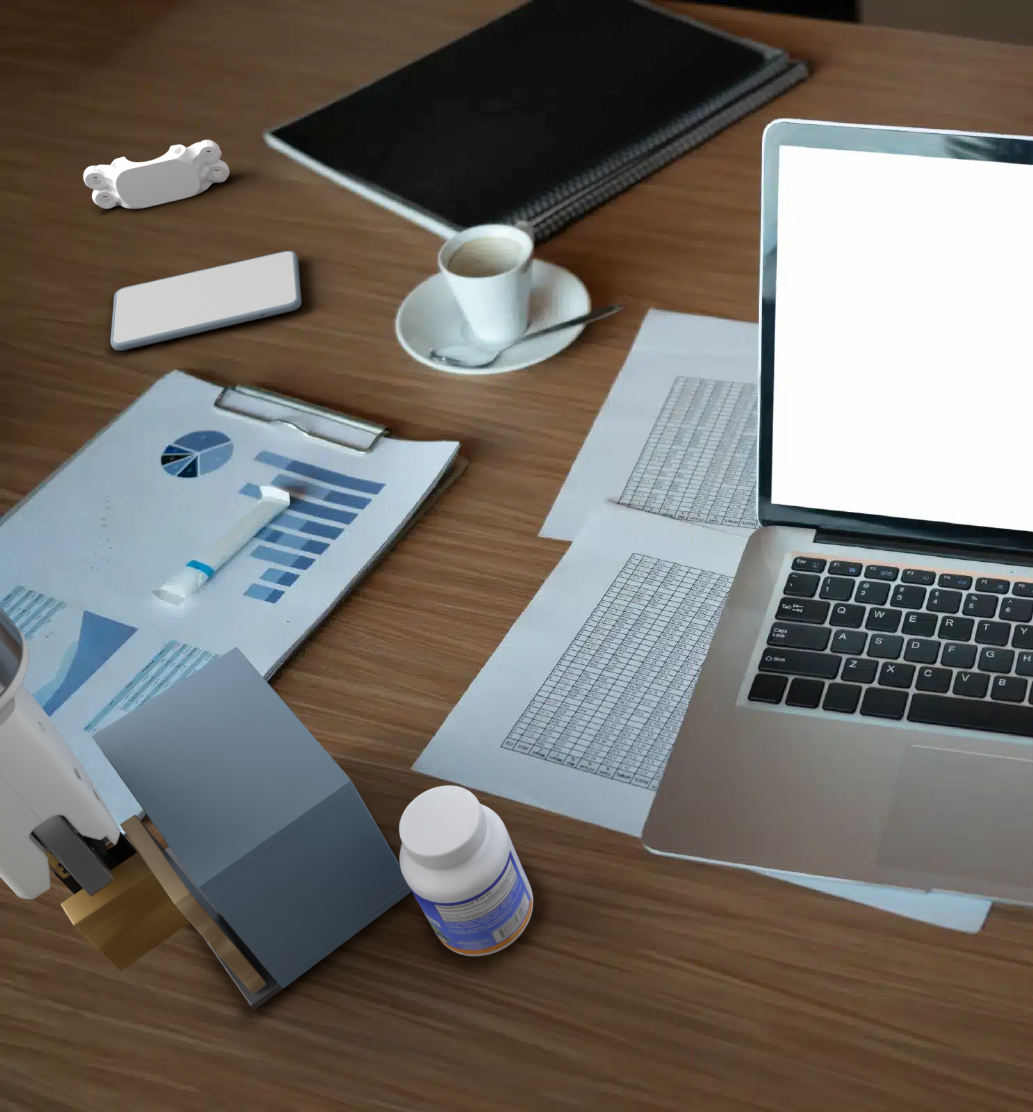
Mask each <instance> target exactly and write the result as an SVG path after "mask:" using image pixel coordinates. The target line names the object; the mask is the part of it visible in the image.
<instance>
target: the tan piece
mask: <svg viewBox="0 0 1033 1112" xmlns="http://www.w3.org/2000/svg"><path fill="white" fill-rule="evenodd" d="M119 825H120V826H119V827H121V829H122V831H123V832H124V833H125V835H126V836H127V837H128V840H129V841H130V843H131V844H132V845H133V847H134V848H135V849H136V850H137V853H136V854H134V855H133V856H131V857H130V858H128V859H127V860H125V861H124V862H122V863H121V864H119V865H118V866H116V867H115V868H113V869H112V870H111V872H112V873H113V875H114V877H115V878H116V880H115V881H114V882H112V883H111V884H109V885H108V886H107V887H105V888H104V889H102V890H101V891H99V892H98V893H96V894H95V895H93V896H92V897H91V896H90V895H89V894H88V893H87V892H86V891H85V890H84V889H82V890H80V891H79V892H77V893H76V894H73V895H71V896H70V897H68V898H67V899H65V900H63V902H61V903H60V907H61V908H62V909H63V911H64V913H65V915H66V916H67V918H68V919H69V921H70V922H71V924H72V926H73V927H74V928H75V929H76V930H77V931H78V932H80V934H81V935H82V936H83V937H84V938H86V939H87V940H88V941H89V943H91V945H93V946H94V947H95V948H96V949H97V950H98V951H99V952H100V953H101V955H103V956H104V957H105V958H106V959H107V960H108V961H109V962H110V963H111V964H112V965H113V966H114V967H115V968H116V969H117V970H118V971H119V972H122V971H124V970H125V969H127V968H128V967H130V966H131V965H132V964H134V963H135V962H137V961H138V960H139V959H141V958H142V957H143V956H145V955H146V954H148V953H149V952H150V951H152V950H153V949H155V948H156V947H157V946H159V945H160V944H162V943H163V942H165V941H166V940H168V939H169V938H170V937H171V936H173V935H174V934H176V933H177V932H179V931H180V930H182V929H183V928H184V927H186V926H187V925H189V924H191V925H192V926H193V927H194V928H195V930H196V931H197V932H198V933H199V934H200V935H201V936H202V938H203V937H204V938H203V940H204V941H205V940H206V941H207V942H208V943H209V944H210V945H211V947H212V948H213V949H214V950H215V951H216V952H217V954H218V955H219V956H220V957H221V958H222V959H223V960H224V962H225V963H226V964H227V965H228V966H229V967H230V968H231V970H232V971H233V972H234V973H235V974H236V975H237V976H238V978H239V979H240V980H241V981H242V982H243V983H244V984H245V986H246V987H247V988H248V989H249V990H250V991H251V993H252V994H254V993H256V992H257V991H258V990H260V989H261V988H262V987H264V986H265V985H266V984H267V983H266V981H265V980H264V979H263V977H262V976H261V974H260V973H259V972H258V970H257V969H256V967H255V966H254V965H253V963H252V962H251V960H250V959H249V958H248V956H247V955H246V953H245V952H244V951H243V949H242V948H241V946H240V945H239V943H238V942H237V941H236V939H235V938H234V936H233V935H232V934H231V932H230V931H229V929H228V928H227V927H226V925H225V924H224V922H223V921H222V920H221V918H220V917H219V915H218V914H217V913H216V911H215V910H214V908H213V907H212V906H211V905H210V904H209V902H208V901H207V900H206V899H205V898H204V896H203V895H202V894H201V893H200V892H199V890H198V889H197V888H196V887H195V886H194V884H193V883H192V882H191V881H190V880H189V878H188V877H187V876H186V875H185V874H184V872H183V871H182V870H181V869H180V867H179V866H178V865H177V864H176V863H175V861H174V860H173V859H172V858H171V857H170V855H169V854H168V853H167V852H166V851H165V849H166V848H164V846H163V845H162V844H161V843H160V842H159V841H158V840H157V838H156V837H155V836H154V835H153V834H152V833H151V831H150V830H149V828H147V826H146V825H145V824H144V822H142V819H140V818H139V817H138V815H137V814H133V815H132V816H130V817H129V818H127V819H126V820H124V821H123V822H121V823H120V824H119ZM206 941H205V942H206ZM207 942H206V943H207Z"/></svg>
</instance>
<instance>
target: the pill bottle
mask: <svg viewBox="0 0 1033 1112" xmlns="http://www.w3.org/2000/svg"><path fill="white" fill-rule="evenodd" d="M398 832H399V837H400V841H401V842H402V843H401V845H400V850H399V864H400V867H401V871H402V874H403V876H404V878H405V880H406V882H407V884H408V886H409V887H410V889H411V891H412V892H411V893H412V895H413V896H414V898H415V900H416V901H417V903H418V905H419V906H420V909H421V910H422V912H423V914H424V916H425V917H426V919H427V921H428V922H429V924H430V926H431V928H432V929H433V931H434V933H435V935H436V936H437V938H438V939H439V941H440V942H441V943H442V944H443V945H444V946H445V947H446V948H448V949H449V950H450V951H452V952H453V953H456V954H457V955H458V954H459V955H462V956H466V957H483V956H489V955H492V954H495V953H498V952H500V951H502V950H504V949H506V948H508V947H509V946H510V945H512V944H513V943H515V941H517V939H519V937H520V936H521V935H523V932H524V931H525V929H526V927H527V926H528V925H529V922H530V920H531V917H532V915H533V914H532V913H533V909H534V895H533V890H532V887H531V883H530V882H529V879H528V877H527V874H526V872H525V870H524V868H523V866H522V863H521V861H520V858H519V856H518V853H517V851H516V849H515V847H514V844H513V842H512V839H511V837H510V834H509V831H508V830H507V827H506V825H505V823H504V821H503V820H502V819H501V817H500V816H499V815H498V813H497V812H495V811H494V810H493V809H492V808H490V807H488V806H487V805H484V804H482V803H480V801H479V799H478V798H477V797H476V796H475V794H474V793H472V792H471V791H470V790H468V789H466V788H465V787H461V786H459V785H458V786H457V785H451V784H450V785H440V786H436V787H433V788H430V789H427V790H425V791H423V792H422V793H420V794H419V795H417V796H416V797H415V798H413V800H412V801H411V802H409V804H407V806H406V808H405V809H404V811H403V812H402V815H401V817H400V820H399V825H398Z"/></svg>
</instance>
